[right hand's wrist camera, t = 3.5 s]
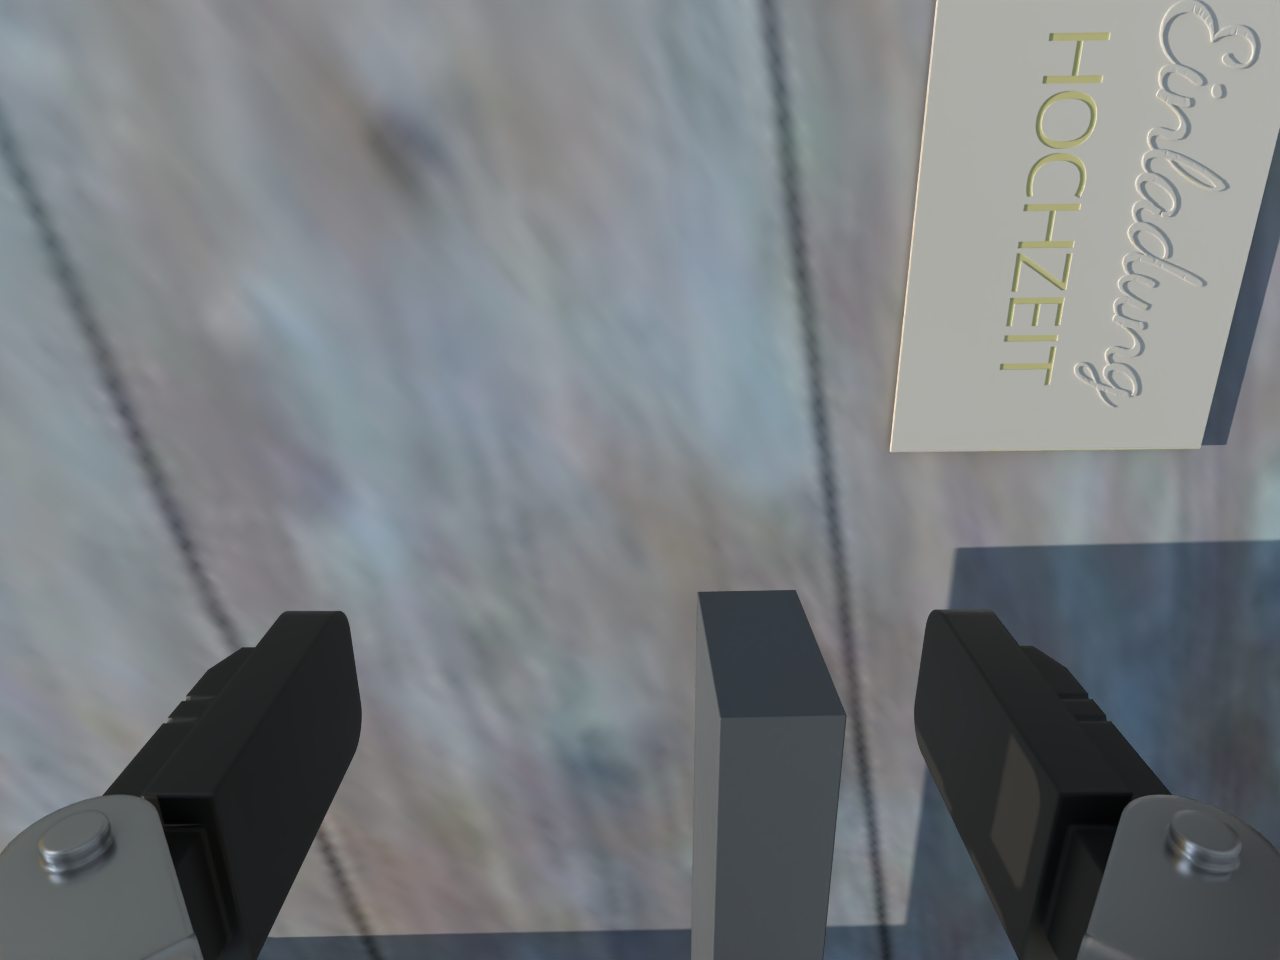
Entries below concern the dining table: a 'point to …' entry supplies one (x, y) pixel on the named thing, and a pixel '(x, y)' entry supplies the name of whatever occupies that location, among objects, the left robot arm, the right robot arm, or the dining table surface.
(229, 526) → the dining table surface
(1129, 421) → the invitation card
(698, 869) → the bar
